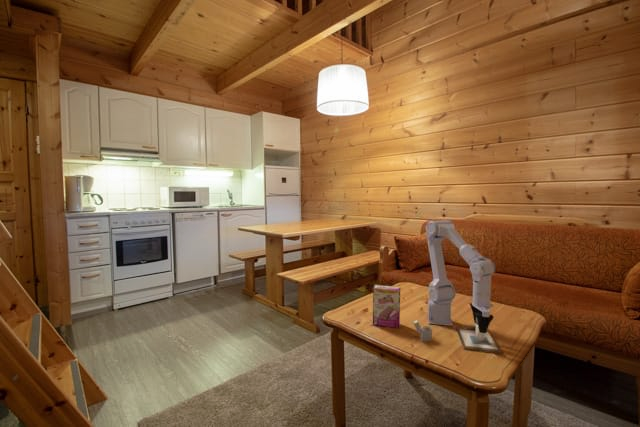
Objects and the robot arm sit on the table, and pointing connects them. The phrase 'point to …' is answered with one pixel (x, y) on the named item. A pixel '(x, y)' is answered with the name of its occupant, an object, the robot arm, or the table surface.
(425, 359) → the table surface
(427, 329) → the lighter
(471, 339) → the picture frame
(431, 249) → the robot arm
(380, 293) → the candy bar box
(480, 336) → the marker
